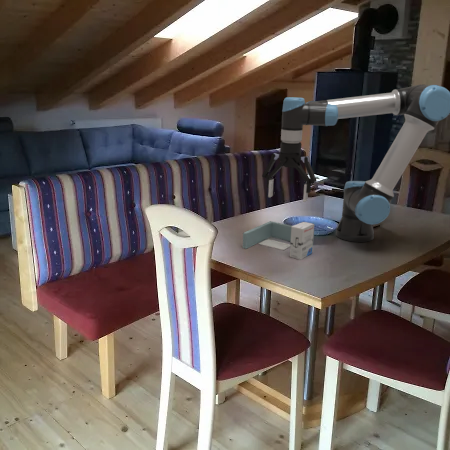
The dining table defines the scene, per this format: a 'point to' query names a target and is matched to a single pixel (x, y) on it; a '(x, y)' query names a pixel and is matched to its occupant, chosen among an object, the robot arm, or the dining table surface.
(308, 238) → the ink box
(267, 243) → the pad
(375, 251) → the dining table surface
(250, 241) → the teal angle bracket
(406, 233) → the dining table surface
